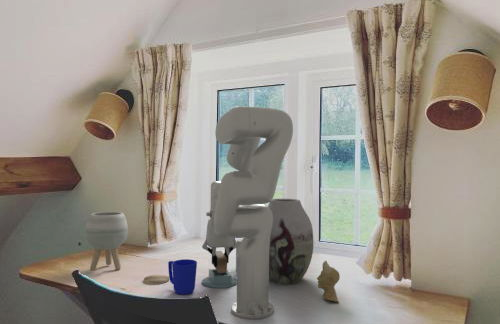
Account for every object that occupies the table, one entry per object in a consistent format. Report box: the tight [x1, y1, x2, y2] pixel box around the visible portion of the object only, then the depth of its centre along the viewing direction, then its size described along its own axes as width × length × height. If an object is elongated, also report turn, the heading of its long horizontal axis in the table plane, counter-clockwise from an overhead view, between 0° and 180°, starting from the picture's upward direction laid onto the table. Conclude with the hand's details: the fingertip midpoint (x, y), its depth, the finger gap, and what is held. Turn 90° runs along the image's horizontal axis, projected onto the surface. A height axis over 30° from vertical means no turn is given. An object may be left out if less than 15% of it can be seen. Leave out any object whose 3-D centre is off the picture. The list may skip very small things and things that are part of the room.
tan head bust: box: [316, 260, 341, 303], centre depth 120 cm, size 8×7×12 cm
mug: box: [167, 258, 198, 295], centre depth 127 cm, size 8×12×10 cm
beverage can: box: [235, 238, 243, 269], centre depth 154 cm, size 6×6×12 cm
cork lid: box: [143, 274, 170, 285], centre depth 138 cm, size 9×9×1 cm
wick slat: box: [214, 250, 228, 273], centre depth 137 cm, size 5×3×10 cm
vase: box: [267, 198, 314, 285], centre depth 141 cm, size 21×21×30 cm
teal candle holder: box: [201, 268, 237, 289], centre depth 137 cm, size 13×13×4 cm
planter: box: [85, 211, 129, 272], centre depth 153 cm, size 16×16×22 cm
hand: (220, 265), depth 137 cm, fingers open, 3 cm apart
